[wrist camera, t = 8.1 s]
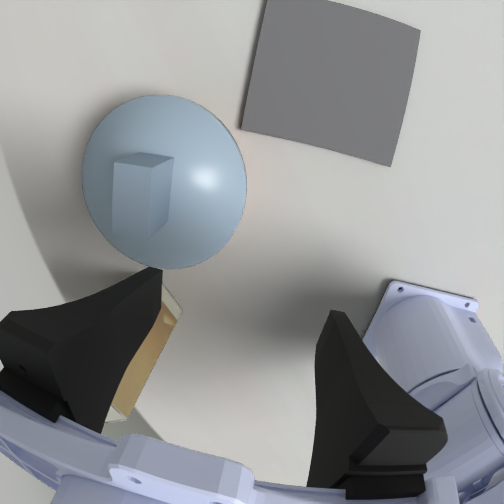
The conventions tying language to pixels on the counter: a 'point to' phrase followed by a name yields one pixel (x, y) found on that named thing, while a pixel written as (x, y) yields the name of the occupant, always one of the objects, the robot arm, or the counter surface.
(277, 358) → the counter surface
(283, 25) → the mat
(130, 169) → the lid
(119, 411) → the skincare box
